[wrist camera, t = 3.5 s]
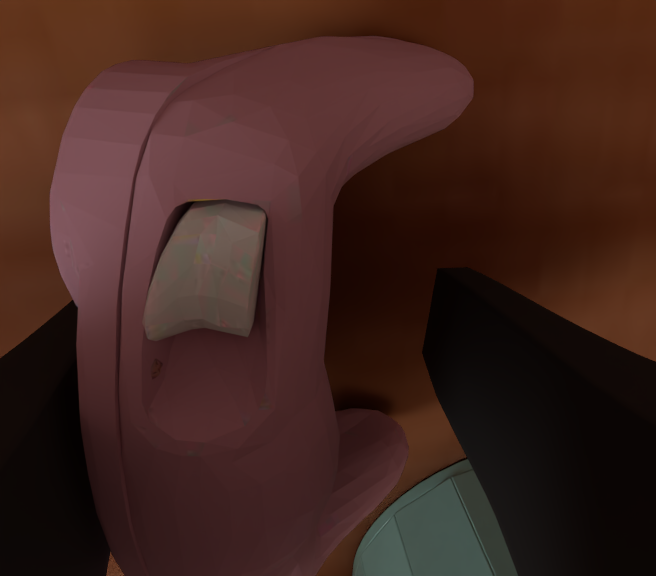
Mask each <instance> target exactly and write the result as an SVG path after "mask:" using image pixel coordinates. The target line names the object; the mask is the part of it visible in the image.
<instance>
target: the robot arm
mask: <svg viewBox="0 0 656 576" xmlns="http://www.w3.org/2000/svg"><path fill="white" fill-rule="evenodd" d="M77 320H78V307H77V306H76V304H75V302H74V300H72V301H71V302H70V303H69V304H68V305H66V306H65V307H64V308H63V309H62V310H60V311H59V312H58V313H57V314H56V315H54V316H53V317H52V318H51V319H50V320H48V321H47V322H46V323H45V324H43V325H42V326H41V327H40V328H39V329H37V330H36V331H35V332H34V333H33V334H31V335H30V336H29V337H28V338H26V339H25V340H24V341H23V342H21V343H20V344H19V345H17V346H16V347H15V348H13V349H12V350H11V351H9V352H8V353H7V354H5V355H4V356H3V357H1V358H0V576H106V573H107V567H108V561H109V556H110V551H111V550H110V548H109V545H108V542H107V540H106V537H105V534H104V532H103V529H102V526H101V524H100V521H99V518H98V516H97V513H96V508H95V504H94V499H93V494H92V490H91V485H90V481H89V476H88V471H87V465H86V459H85V453H84V446H83V440H82V434H81V423H80V411H79V390H78V369H77V348H76V341H77ZM422 354H423V357H424V360H425V363H426V366H427V370H428V373H429V376H430V379H431V382H432V385H433V387H434V390H435V393H436V396H437V398H438V400H439V402H440V404H441V406H442V408H443V410H444V412H445V414H446V416H447V418H448V421H449V423H450V425H451V427H452V429H453V431H454V433H455V435H456V437H457V439H458V441H459V443H460V444H461V446H462V448H463V450H464V452H465V454H466V456H467V458H468V460H469V462H470V464H471V466H472V468H473V470H474V472H475V474H476V476H477V478H478V480H479V482H480V484H481V486H482V488H483V490H484V492H485V494H486V496H487V499H488V501H489V503H490V505H491V507H492V510H493V512H494V514H495V516H496V519H497V521H498V524H499V527H500V529H501V532H502V535H503V537H504V540H505V542H506V545H507V548H508V550H509V553H510V556H511V558H512V561H513V563H514V566H515V569H516V571H517V574H518V576H656V362H655V361H652V360H650V359H648V358H645V357H643V356H640V355H638V354H636V353H634V352H631V351H629V350H627V349H625V348H623V347H620V346H618V345H616V344H614V343H612V342H610V341H608V340H606V339H604V338H602V337H600V336H598V335H596V334H594V333H592V332H590V331H588V330H586V329H584V328H582V327H580V326H578V325H576V324H574V323H572V322H570V321H568V320H566V319H564V318H563V317H561V316H559V315H557V314H555V313H553V312H551V311H550V310H548V309H546V308H544V307H542V306H540V305H539V304H537V303H535V302H533V301H531V300H530V299H528V298H526V297H524V296H522V295H521V294H519V293H517V292H515V291H513V290H512V289H510V288H508V287H506V286H504V285H503V284H501V283H499V282H497V281H495V280H493V279H491V278H489V277H487V276H485V275H483V274H481V273H479V272H477V271H475V270H472V269H470V268H467V267H464V268H437V274H436V279H435V285H434V290H433V296H432V301H431V307H430V312H429V318H428V323H427V329H426V334H425V340H424V345H423V351H422Z"/></svg>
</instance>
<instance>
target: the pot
mask: <svg viewBox="0 0 656 576" xmlns="http://www.w3.org/2000/svg"><path fill="white" fill-rule="evenodd" d="M352 576H518V574H517V571H516V569H515V566H514V563H513V561H512V558H511V556H510V553H509V550H508V548H507V545H506V542H505V540H504V537H503V535H502V532H501V529H500V527H499V524H498V521H497V519H496V516H495V514H494V512H493V510H492V507H491V505H490V503H489V501H488V499H487V496H486V494H485V492H484V490H483V488H482V486H481V484H480V482H479V480H478V478H477V476H476V474H475V472H474V470H473V468H472V466H471V464H470V462H469V460H468V459H466V460H464V461H461V462H458V463H456V464H454V465H452V466H450V467H448V468H446V469H444V470H442V471H440V472H438V473H436V474H434V475H433V476H431V477H429V478H427V479H426V480H424V481H422V482H421V483H419V484H417V485H416V486H415V487H413V488H412V489H410V490H409V491H408V492H406V493H405V494H404V495H402V496H401V497H400V498H398V499H397V500H396V501H395V502H394V503H393V504H392V505H391V506H389V507H388V508H387V509H386V510H385V511H384V512H383V513H382V514H381V515H380V517H379V518H378V519H377V520H376V521H375V522H374V523H373V525H372V526H371V527H370V529H369V530H368V532H367V533H366V534H365V536H364V538H363V540H362V542H361V544H360V545H359V547H358V549H357V553H356V556H355V559H354V563H353V573H352Z"/></svg>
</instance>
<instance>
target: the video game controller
mask: <svg viewBox="0 0 656 576" xmlns="http://www.w3.org/2000/svg"><path fill="white" fill-rule="evenodd" d="M473 93H474V80H473V78H472V76H471V75H470V73H469V72H468V70H467V68H466V67H465V66H464V65H463V64H462V63H460V62H459V61H458V60H456V59H455V58H453V57H451V56H449V55H448V54H446V53H443V52H441V51H438V50H436V49H433V48H431V47H427V46H424V45H420V44H416V43H410V42H406V41H402V40H399V39H394V38H387V37H379V36H358V37H333V36H324V37H315V38H310V39H305V40H300V41H295V42H290V43H285V44H279V45H275V46H270V47H265V48H260V49H255V50H251V51H246V52H241V53H236V54H232V55H227V56H222V57H217V58H212V59H208V60H203V61H198V62H193V63H189V64H188V63H175V62H161V61H147V60H131V61H127V62H123V63H119V64H115V65H113V66H111V67H109V68H108V69H106V70H104V71H102V72H101V73H100V74H99V75H98V76H97V77H96V78H95V79H94V80H93V81H92V82H91V83H90V84H89V85H88V86H87V87H86V88H85V90H84V92H83V93H82V95H81V97H80V98H79V100H78V101H77V103H76V105H75V106H74V108H73V111H72V113H71V116H70V118H69V121H68V123H67V126H66V128H65V131H64V133H63V136H62V140H61V144H60V149H59V154H58V158H57V163H56V167H55V172H54V176H53V181H52V186H51V190H50V230H51V239H52V248H53V252H54V255H55V258H56V262H57V265H58V268H59V271H60V274H61V277H62V279H63V281H64V283H65V285H66V286H67V288H68V290H69V292H70V294H71V296H72V298H73V300H74V302H75V304H76V306H77V307H78V320H77V341H76V348H77V369H78V390H79V411H80V423H81V434H82V440H83V446H84V453H85V459H86V465H87V471H88V476H89V481H90V485H91V490H92V494H93V499H94V504H95V508H96V513H97V516H98V518H99V521H100V524H101V526H102V529H103V532H104V534H105V537H106V540H107V542H108V545H109V548H110V550H111V553H112V556H113V557H114V559H115V561H116V562H117V564H118V565H119V567H120V569H121V570H122V572H123V573H124V575H125V576H316V574H317V572H318V571H319V569H320V568H321V566H322V565H323V563H324V562H325V560H326V559H327V557H328V556H329V555H330V554H331V552H332V551H333V550H334V549H335V548H336V547H337V546H338V544H339V543H340V542H341V541H342V540H343V539H344V538H345V537H346V536H347V535H348V534H349V533H350V532H351V531H352V530H353V529H354V528H355V527H356V526H357V525H358V524H359V523H360V522H361V521H362V520H363V519H364V518H365V517H366V516H367V515H368V514H369V513H371V512H372V511H373V510H374V509H375V508H376V507H377V506H378V505H379V504H380V503H381V502H382V500H383V499H384V498H385V497H386V496H387V495H388V494H389V492H390V491H391V490H392V489H393V488H394V487H395V485H396V484H397V483H398V481H399V478H400V476H401V474H402V471H403V469H404V466H405V463H406V460H407V457H408V443H407V439H406V436H405V433H404V431H403V429H402V427H401V426H400V425H399V424H398V423H397V422H396V421H394V420H393V419H392V418H391V417H389V416H387V415H385V414H384V413H382V412H380V411H378V410H369V409H355V408H351V409H346V410H341V411H336V412H335V408H334V403H333V398H332V393H331V388H330V384H329V380H328V376H327V372H326V368H325V364H324V353H325V342H326V331H327V320H328V309H329V298H330V283H331V257H332V231H333V206H334V204H335V201H336V199H337V197H338V194H339V192H340V190H341V187H342V186H343V185H344V184H345V183H346V182H347V181H348V180H349V179H350V178H351V177H352V176H353V175H355V174H356V173H358V172H359V171H361V170H362V169H364V168H366V167H367V166H369V165H370V164H372V163H374V162H375V161H377V160H378V159H380V158H382V157H383V156H385V155H386V154H388V153H390V152H393V151H395V150H397V149H400V148H402V147H404V146H406V145H409V144H411V143H413V142H415V141H418V140H420V139H422V138H425V137H427V136H429V135H431V134H434V133H436V132H438V131H440V130H443V129H445V128H446V127H447V126H449V125H450V124H451V123H452V122H453V121H455V120H456V119H457V118H458V117H459V116H460V115H461V113H462V112H463V111H464V109H465V108H466V107H467V105H468V104H469V103H470V101H471V100H472V99H473Z"/></svg>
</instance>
